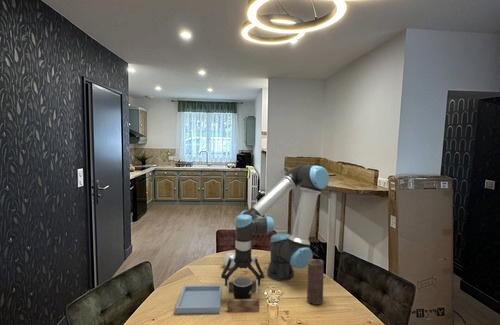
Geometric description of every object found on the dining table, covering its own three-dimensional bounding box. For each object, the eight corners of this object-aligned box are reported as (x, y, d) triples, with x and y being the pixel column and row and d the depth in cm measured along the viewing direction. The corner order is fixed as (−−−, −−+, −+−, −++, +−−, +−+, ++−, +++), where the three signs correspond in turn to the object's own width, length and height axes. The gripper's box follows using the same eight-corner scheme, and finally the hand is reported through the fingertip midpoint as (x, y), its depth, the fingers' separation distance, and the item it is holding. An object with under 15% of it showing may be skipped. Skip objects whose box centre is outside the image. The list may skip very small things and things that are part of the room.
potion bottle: (226, 274, 159) (232, 266, 174) (240, 265, 158) (244, 257, 173) (218, 260, 160) (224, 253, 175) (231, 251, 160) (236, 245, 174)
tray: (222, 290, 138) (222, 285, 138) (219, 313, 119) (219, 307, 119) (184, 291, 137) (184, 285, 137) (175, 314, 118) (175, 308, 118)
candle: (319, 308, 124) (320, 265, 123) (304, 303, 128) (305, 261, 127) (324, 300, 130) (325, 259, 129) (310, 295, 134) (310, 256, 133)
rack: (256, 290, 139) (256, 281, 138) (259, 311, 121) (259, 300, 121) (228, 291, 138) (228, 281, 138) (227, 312, 121) (227, 301, 120)
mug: (250, 308, 123) (251, 287, 122) (231, 307, 124) (231, 285, 124) (253, 294, 135) (253, 274, 134) (235, 293, 136) (236, 273, 135)
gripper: (268, 245, 132) (267, 288, 133) (217, 245, 131) (216, 288, 132) (270, 251, 125) (269, 296, 126) (216, 251, 124) (215, 296, 125)
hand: (242, 292), depth 129 cm, fingers open, 13 cm apart
